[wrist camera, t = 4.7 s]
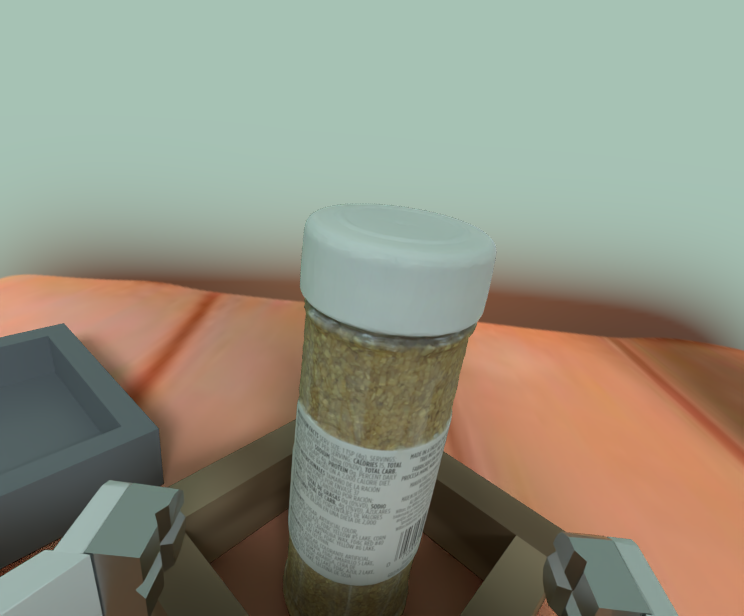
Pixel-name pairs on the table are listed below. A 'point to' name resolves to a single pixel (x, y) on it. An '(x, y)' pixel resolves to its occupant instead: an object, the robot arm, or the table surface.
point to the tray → (62, 437)
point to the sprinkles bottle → (375, 396)
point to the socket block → (443, 525)
